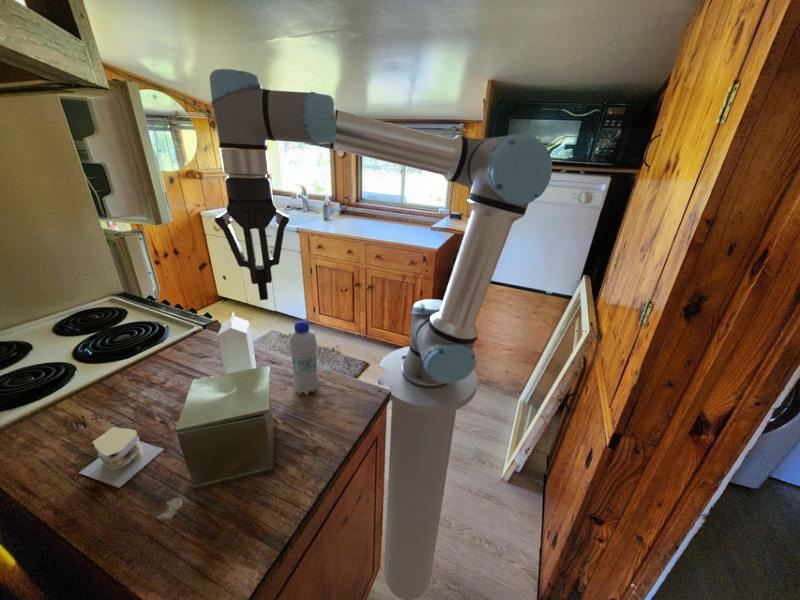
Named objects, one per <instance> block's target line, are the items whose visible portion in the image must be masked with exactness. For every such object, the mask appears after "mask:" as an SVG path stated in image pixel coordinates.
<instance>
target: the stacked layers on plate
mask: <svg viewBox="0 0 800 600" xmlns="http://www.w3.org/2000/svg"><path fill="white" fill-rule="evenodd" d="M91 443H92V445H94V449H95V450H96V452H97V453H98V454H97V456H98V458H97V459H96V460H94V461H93V462H91V463H90V464H88V465H87V466H86V467H84V468H83V469H81V470H80V471H79V472H78V474H80V475H83V476H86V477H88V478H91V479H94V480H97V481H100V482H102V483H105V484H108V485H110V486H112V487H116V488H121V487H122V486H123V485H125V484H126V483H127V482H129V480H130V479H132V478H133V477H134V476H135V475H136V474H137V473H138V472H140V471H141V470H142V469H143V468H144V467H145V466H146V465H148V464H149V463H150V462H151V461H152V460H154V459H155V458H156V457H157V456H158V455H160V453H162V452H163V451H164V450H165V448H163V447H161V446H157V445H154V444H150V443H147V442H143V441H141V440H140V437H139V435H138V431H137V430H136V429H131V428H123V427H116V426H113V427H111V428H110V429H108V430H107V431H106V432H104V433H103V434H102V435H100V436H98V437H97V438H96V439H94V440H93V441H92V442H91Z"/></svg>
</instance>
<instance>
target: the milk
mask: <svg viewBox="0 0 800 600" xmlns="http://www.w3.org/2000/svg"><path fill="white" fill-rule="evenodd" d="M216 336H217V342H218V346H219V351H220V357H221V361H222V365H223V370H224V374H227V373H232V372H238V371H243V370H249V369H254V368H258V367H257V362H256V357H255V355H256V354H255V351H254V350H255V348H254V343H253V338H252V337H253V336H252V331H251V325H250V321H249V320H246V319H244V318H241V317H238V316H236V314H235V311H234V310H233V311H232V314H231V316H230V318H229V319H227V320H226V321H224V322H222V323H221V326H220V328H219V331H218V333H217V335H216Z"/></svg>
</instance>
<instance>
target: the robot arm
mask: <svg viewBox="0 0 800 600" xmlns="http://www.w3.org/2000/svg"><path fill="white" fill-rule="evenodd" d="M209 85H210V93H211V94H210V96H211V107H212V111H213V116H214V122H215V127H216V132H217V138H218V145H219V151H220V152H219V154H220V158H221V164H222V171H223V173H224V174H226V175H227V176H226V177H225V179H224V183H225V184H224V185H225V189H226V195H227V205H226V207H225V208H226V211H224V212H223V213H221V214H218V215H217V216H216V217H215V218H214V222H215V224H217V226H218V227H219V228H220V229H221V230H222V232H223V234H224V236H225V238H226V240H227V243H228V245H229V247H230V249H231V252H232V254H233V256H234V258H235V260H236V263H237V265H238V266H239V267H241V268H243V267H244V268H247V269H248V270H249V274H250V275H249V276H250V281H251V284H252V285H256V284H257V289H258V295H259V301H267V300H269V291H268V290H269V289H268V284H271V283H272V281H273V275H272V267H273V266H277V265H279V264H280V260H281V254H282V248H283V247H282V246H283V240H284V234H285V229H286V227H287V225H288V223H289V222H290V217H289V215H288V214H286V213H285V214H284V213H282V212H281V211H279V210H278V209H277V206H276V204H275V202H274V197H273V189H272V180H271V179H270V178H269V177H268V175H270V173H271V170H270V161H269V160H270V159H269V151H268V146H267V145H268V144H267V143H268V141H273V142H276V141H279V142H289V143H303V144H305V145H309V146H316V147H320V148H324V149H329V150H334V151H338V152H343V153H347V154H352V155H356V156H359V157H365V158H368V159H373V160H376V161H381V162H387V163H390V164H394V165H397V166H398V165H399V166H403V167H406V168H412V169H415V170H421V171H425V172H429V173H432V174H433V173H434V174H437V175H442V176H443V178H444V179H445V181H447V182H451V183H454V184H459V185H461V186H464V187H466V188H468V189H470V192H469V196H468V199H467V203H468V204H469V207H470V209H471V213H470V216H469V220H468V222H467V225H466V229H465V232H464V235H463V238H462V241H461V243H460V247H459V250H458V253H457V255H456V259H455V262H454V266H453V268H452V271H451V274H450V277H449V281H448V284H447V286H446V290H445V293H444V296H443V299H442V300H441V299H433V298H431V299H429V298H428V299H421V300H418V301H416V302H414V304H413V305H412V310H411V313H410V314H411V319H410V321H411V322H410V334H409V335H410V336H409V337H410V339H409V346H410V349H409V351H408V353H407V355H406V356H403V357H402V359H405V360H404V362H403V364H402V374H403V376H404V378H405V379H406V380H407V381H408V382H410V383H411V384H413V385H415V386H418V387H422V388H428V389H433V388H440V387H443V386H445V385H447V384H448V383H454V382H458V381H459V380H461V379H464V378H466V377H467V376H468V375H470V374H471V372H472V371H473V370H475V367H476V365H477V358H476V354H475V353H476V352H474V350H473V348H474V345H475V343H476V341H477V337H478V335H479V330H478V328H477V326H476V324H475V323H476V321H477V319H478V316H479V314H480V310H481V308H482V305H483V302H484V300H485V298H486V295H487V292H488V289H489V287H490V284H491V281H492V279H493V276H494V273H495V271H496V268H497V266H498V264H499V260H500V259H501V256H502V253H503V250H504V248H505V245H506V242H507V239H508V237H509V234H510V232H511V229H512V226H513V224H514V223H515V222H516V221H518V220H520V219H522V218H523V217H525V215H526V212H527V209H528V207H529V204H530V203H533V202H534V201H535V200H536V199H538V198H540V197H541V196H542V195H543V193H545V191H546V189H547V188H548V186H549V184H550V181H551V178H552V174H553V160H552V157H551V155H550V151H549V150H548V147H547V146H546V145H545V143H543V142H542V141H541V140H540V139H538V138H537V137H535V136H532V135H528V134H519V133H512V134H508V135H504V136H494V137H483V138H478V137H477V138H476V137H475V138H474V137H467V136H463V135H460V134H459V135H458V134H457V135H456V136H454V137H453V138H449V137H445V136H441V135H438V134H433V133H430V132H425V131H421V130H419V129H418V130H417V129H414V128H409V127H405V126H402V125H399V124H398V125H397V124H394V123H390V122H386V121H382V120H377V119H374V118H370V117H366V116H362V115H358V114H354V113H351V112H346V111H342V110H339V109H336V103H335V99H334V98H333V96H331V95H329V94H322V93H317V92H315V91H310V92H305V91H288V90H287V91H286V90H271V89H266V88H264V87H263V86H262V85H261V81H260V78H259V76H257V75H256V74H254V73H252V72H248V71H245V70H237V69H233V68H232V69H231V68H217V69H215V70H213V71H211V73H210V74H209ZM274 218H276V219H275V223H276V224H277V227H276V234H275V241H274V247H273V254H272V257H270V250H269V242H268V233H267V228H268V227H269V225H270V223H271V222H272V220H273V219H274ZM232 220H234V221H235V222H236V224H237V225H239V227H240V228H242V231H243V237H244V243H245V249H246V257H247V258H246V257H245V254H244V252H243V250H242V248H241V244H240V242H239V241H238V237H237V236H236V234H235V231H234V228H233V227H232V225H231V224H232ZM254 229H256V230H258V236H259V237H258V238H259V244H260V252H261V259H262V265H261V264H260V265H257V258H256V250H255V245H254V236H253V230H254Z"/></svg>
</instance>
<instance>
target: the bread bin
mask: <svg viewBox="0 0 800 600" xmlns="http://www.w3.org/2000/svg"><path fill="white" fill-rule="evenodd" d="M274 420H275V419H274V413H273V406H272V400H271V396H270V397H269V413H265V414H260V415H256V416H251V417H247V418H242V419H238V420H233V421H229V422H224V423H220V424H215V425H211V426H206V427H202V428H197V429H193V430H188V431H184V432H179V433H176V435H177V439H178V442H179V445H180V448H181V452H182V455H183V458H184V461H185V464H186V468H187V471H188V474H189V477H190V481H191V483H192V487H193V489H194V490H197V489H201V488H207V487H210V486H213V485H217V484H222V483H226V482H230V481H234V480H239V479H241V478H247V477H250V476H254V475H257V474H263V473H267V472H272V471H274V443H275V442H274V438H275V437H274V436H275V435H274V433H275V429H274Z"/></svg>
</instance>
